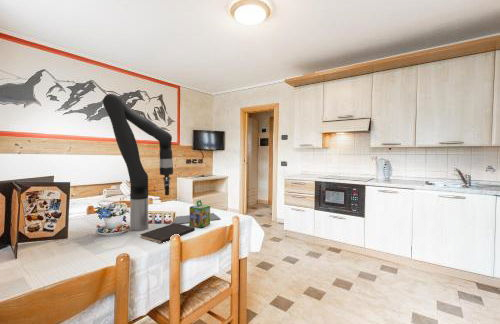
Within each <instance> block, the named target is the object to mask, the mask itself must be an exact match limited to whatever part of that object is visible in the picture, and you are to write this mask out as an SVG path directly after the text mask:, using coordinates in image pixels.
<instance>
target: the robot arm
mask: <svg viewBox="0 0 500 324" xmlns="http://www.w3.org/2000/svg"><path fill="white" fill-rule="evenodd" d="M102 105H103V107H104V108H105V111H106V113H107V115H108V117H109V120H110V123H111V125H112V130H113V134H114V137H115V141H116V143H117V146H118V149H119V151H120V154H121V156H122V159H123V161H124V163H125V164H126V165H125V166H126V168H127V172H128V176H129V177H128V178H129V182H130V191H129V192H130V193H129V196H130V198H129V207H130V208H129V209H130V211H129V217H130V219H129V223H130V228H129V229H130V231H142V230H143V231H144V230H146V229H148V228H149V176H148V175H149V174H148V173H147V172H146V170H145V169H144V166H143V164H142V161H141V158H140V151H139V147H138V143H137V139H136V137H135V133H134V132H133V129H132V128H131V126H130V124H129V122H130V123H131V124H133V125H134V126H135V127H137V128H138V129H139V130H141V131H142V132H144V133H146V134H147V135H149V136H151V137H153V138H154V139H155V140H157V141H158V143H159V163H158V164H159V175H160V176H164V177H163V178H162V181H163V187H164V195H165V196H170V185H171V175H173V174H174V161H173V150H172V140H173V137H172V134H171V133H169V132H168V131H166V130H165V129H163V128H161V127H160V126H158V125H157V124H156V123H154V122H152V121H151V120H149V119H148V118H146V117H145V116H143V115H141V114H139V113H138V112H136V111H135V110H133V109H132V108H130V107H129V106H128V105H127V104H126V103H125V102H124V101H123V100H122V98H121V97H120V96H118V95H117V94H115V93H108V94H106V95H104V97H103V99H102Z"/></svg>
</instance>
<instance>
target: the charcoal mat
mask: <svg viewBox="0 0 500 324" xmlns="http://www.w3.org/2000/svg"><path fill="white" fill-rule="evenodd" d="M175 217H176V218H175V221H174V222H172V223H171V224H173V223H177V224H181V225H186V224H190V214H188V215H179V216H178V215H177V216H175ZM220 220H222V219H221V217H219V216H218V215H217V214H215V213H214V212H210V222H213V221H220Z"/></svg>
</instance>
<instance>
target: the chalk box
mask: <svg viewBox="0 0 500 324" xmlns="http://www.w3.org/2000/svg"><path fill="white" fill-rule="evenodd" d="M199 203H200V204H199ZM210 213H211V205H206V204H203V202H202V199H199V200H196V204H195V205H191V206H189V215H190V223H189V226H190V227H194V228H199V229H200V228H201V229H202V228H204V227H207V226H209V225H211V221H210Z"/></svg>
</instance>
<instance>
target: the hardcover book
mask: <svg viewBox="0 0 500 324" xmlns="http://www.w3.org/2000/svg"><path fill="white" fill-rule="evenodd" d="M195 228H196V227H193V226H190V225H186V224H177V223H173V224H172V223H170V224H167V225H164V226H162V227H158V228H154V229H152V230H149V231H146V232H143V233H140V234H139V236H140V238H142V239H144V240H147V239H148V241H151V240H152V241H151V242H154V241H156V242H155V243H157V242H160V243H159V244H161V243H163V242H165V243H167V242H166V241H168V242H170V241H171V240H170V237H171V236H172V235H174V234H179V235H180V237H183V236H185V235H187V234H190V233H192V232H195V231H196V229H195ZM169 240H170V241H169ZM163 244H164V243H163Z"/></svg>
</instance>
